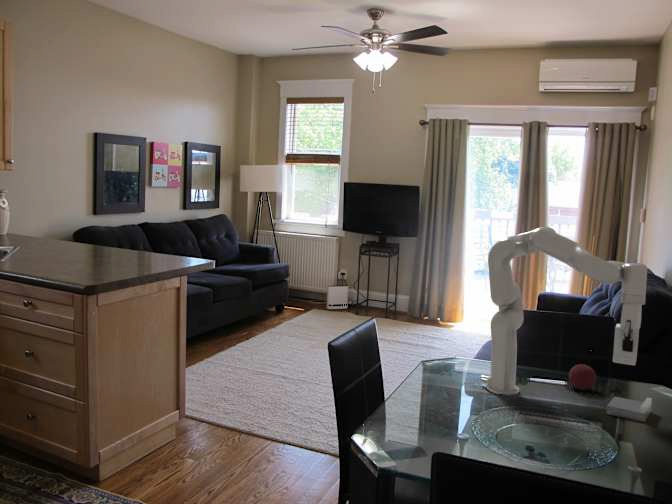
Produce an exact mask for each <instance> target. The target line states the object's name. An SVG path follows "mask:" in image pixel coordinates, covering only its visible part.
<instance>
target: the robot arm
mask: <svg viewBox="0 0 672 504" xmlns="http://www.w3.org/2000/svg"><path fill="white" fill-rule="evenodd" d="M538 252H541V253H543V254H545V255H547V256H549V257H552V258H553V259H556V260H557V261H559V262H562V263H563V264H566V265H567V266H568V267H570V268H571V269H574V270H576V271H578V272H579V273H580V274H582V275H584V276H586V277H588V278H590V279H592V280H594V281H596V282H598V283H600V284H603V285H613V284H615V283H617V282H621V292H620V293H621V294H620V295H621V296H620V303H622V309H621V315H620V316H621V317H620V323H619V324H620V331H621V332H622V331H623V330H624V335H623V344H622V350H623V351H627V352H632V351H633V340H632V339H633V333H635V332H636V329H638V328H639V330H640V329H641V323H642V305H643V306H645V305H646V295H647V281H648V280H647V279H648V266H647V265H646V264H644V263H640V262H622V261H616V260H607V261H606V260H604V259H602V258H601V257H598V256H596V255H595V254H592V253H590V251H588V250H586V249H585V248H584V246H582V245H581V244H580V243H578V242H577V241H574V240H572V239H571V238H568V237H566V236H564V235H561V234H559V233H558V232H556V230H555V229H554V228H552V227H549V226H542V227H541V226H540V227H538V228H535V229H533V230H530V231H527V232H523V233H519V234H515V235H511V236H506V237H504V238H501V239H499V240H498V241H497V242H495V243H494V244H493V245H492V247H491V248H490V250H489V252H488V257H487V267H488V276H489V277H488V278H489V287H490V299H491V302H492V303H493V304H494V305H496V306H498V311H497V312H496V313H495V314H494V315H493V316H492V318H491V322H490V336H491V338H490V339H491V340H490V341H491V344H490V345H491V349H490V351H491V352H490V374H489V376H488V375H483V374H481V375H480V381H481V382H483V383H486V385H485V389H486V388H487V389H488V390H490V391H492V392H495V393H499V394H505V395H504V396H514V395H518V394H519V393H520V387H518V386H517V385H516V382H517V381H516V378H517V375H516V374H517V356H518V355H517V354H518V339H517V330H518V329H520V328H521V327H522V325H523V324H524V321H525V320H524V318H525V317H524V307H523V306H524V305H523V304H524V303H523V296H522V290H521V287H520V285H519V284H518V282H516V281H514V280H513V270H512V266H511V261H513V259H517V258H520V257H523V256H527V255H531V254H534V253H538ZM624 328H625V329H624ZM629 329H632V331H629ZM630 334H631V337H630ZM499 394H498V395H499Z"/></svg>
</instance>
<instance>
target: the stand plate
mask: <svg viewBox="0 0 672 504" xmlns="http://www.w3.org/2000/svg"><path fill="white" fill-rule="evenodd" d="M605 412H606V413H605V414H606V415H610V416H613V417H614V416H615V417H617V418H618V417H619V418H624V419H628V420H633V421H637V422H642V423H645V422H646V421H647V419H648V417H649V416H650V414H651V413H650V412H652V398H651V397H646V398H645V400H644V401H639V400H635V399H629V398H623V397H619V396H613V398H612V399H611V400H610V401H609V403H607V404H606V411H605Z"/></svg>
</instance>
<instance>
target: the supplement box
mask: <svg viewBox="0 0 672 504" xmlns="http://www.w3.org/2000/svg"><path fill="white" fill-rule="evenodd" d="M620 324H621V323H616V325H615V327H614V339H613V351H612V352H613V354H612V362H613V363H615V364H621V365H629V366H636V363H637V357H638V347H639V337H640V336H639V334H640V329H639V328H638V329H636V332H635V333H633V339H632V340H633V351H632V352H627V351H623V350H622V344H623V335H624V330H623V331H622V332H621V331H620ZM624 329H625V328H624ZM629 331H632V329H629ZM630 337H631V334H630Z"/></svg>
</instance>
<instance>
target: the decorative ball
mask: <svg viewBox="0 0 672 504" xmlns="http://www.w3.org/2000/svg"><path fill="white" fill-rule="evenodd" d="M568 380H569V383H570V384H571V385H572V387H573V388H575V389H576V390H580V391H587V390H590V389H592V388H593V387H594V386H595V385H596V382H597V374H596V372H595V370H594V369H593V368H592V367H591V366H590V365H587V364H583V363H581V364H575V365H574V366H573V367H571V369H570V370H569V373H568Z"/></svg>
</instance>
